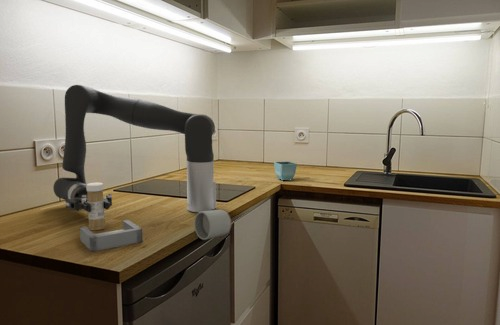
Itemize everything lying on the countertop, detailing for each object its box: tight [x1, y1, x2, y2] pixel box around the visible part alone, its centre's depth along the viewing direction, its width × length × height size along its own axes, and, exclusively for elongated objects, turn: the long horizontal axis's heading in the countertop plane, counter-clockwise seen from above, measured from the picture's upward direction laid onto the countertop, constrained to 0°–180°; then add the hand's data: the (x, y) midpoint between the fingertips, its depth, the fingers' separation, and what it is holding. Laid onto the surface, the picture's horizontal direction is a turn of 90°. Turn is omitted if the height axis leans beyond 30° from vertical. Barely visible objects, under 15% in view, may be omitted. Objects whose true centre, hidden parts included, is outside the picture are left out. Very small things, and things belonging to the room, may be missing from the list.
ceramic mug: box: [194, 209, 232, 241], centre depth 109 cm, size 11×8×8 cm
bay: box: [79, 219, 144, 253], centre depth 103 cm, size 13×10×4 cm
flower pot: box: [273, 161, 297, 181], centre depth 195 cm, size 9×9×9 cm
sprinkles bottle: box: [86, 182, 106, 231], centre depth 113 cm, size 5×5×13 cm
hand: (98, 207), depth 110 cm, fingers closed on sprinkles bottle, 4 cm apart
